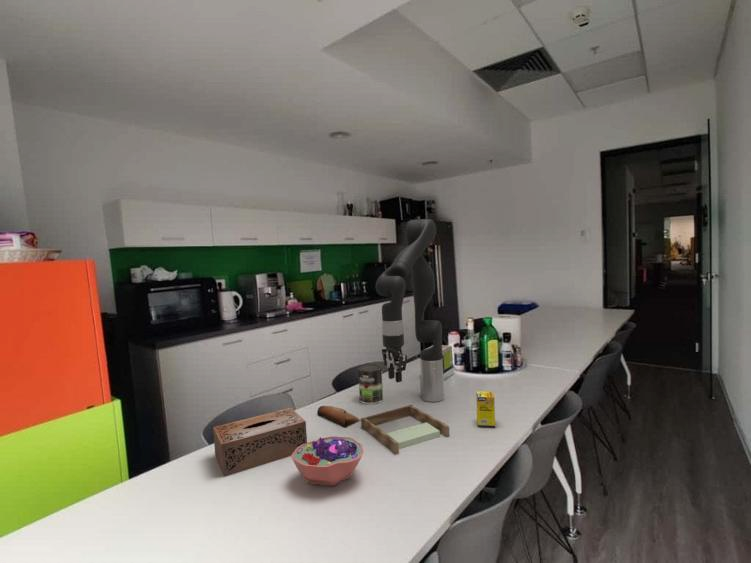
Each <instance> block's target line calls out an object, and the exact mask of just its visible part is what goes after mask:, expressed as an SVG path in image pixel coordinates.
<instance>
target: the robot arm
mask: <svg viewBox="0 0 751 563" xmlns="http://www.w3.org/2000/svg"><path fill="white" fill-rule="evenodd" d="M436 234H437V226H436V223H435V221H434V220H432V219H430V218H422V219H410V220H408V221H407V223H406V227H405V236H406V243H407V246H406V247H404V249H402V250H401V251H400V252H399V253H398V254H397V255H396V256H395V259H394V260H393V262H392V264H391V265H390V266H389V267H387V269H386V270H384V271H383V272H382V273H381V274H380V275H379V277H378V278H377V280H376V282H375V291H376V293H377V294H378V295H379V296H383V297H392V298H391V301H390V302H386V303H383V304H382V305H381V318H382V320H381V321H382V322H381V333H382V334H381V335H382V336H381V337H382V347H385V348H383V349H381V353H382V354H381V355H382V360H383V364H384V366H386V369H387V374H388V379H390V380H393V379H395V382H396V383H401V382H403V377H402V376H403V375H402V373H403V372H404V371H406V368H407V362H408V356H407V354H403V349H402V347H404V345H405V335H404V333H405V332H404V322H403V303H404V298H405V294H406V291H407V290H406V288H407V285H406V281H405V279H406V278H407V277H408V276H409V274H410V273H411V284H412V294H413V304H414V331H415V332H414V333H415V334H414V335H415V338H416V341H417V342H419V343H429V344H430V343H433V344H432V345H431V346H432V347H431V346H430V347H431V348H429V347H427V348H428V349H427V348H425V349H423V350H421V351H420V352H419V354H420V355H419V358H420V376H419V381H420V397H421V399H422V400H423V401H426V402H430V403H438V402H441V401H443V400H444V399H445V394H444V389H445V387H444V381H443V362H442V345H443V325H442V322H441V321H439V320H435V319H434V320H431V319H430V320H429V319H427V320H425V319H424V318H425V311H426V309H427V306H428V304H429V303H430V301H431V300H432V298H433V295H434V293H435V291H436V281H435V272H434V271H433V269H432V267H431V266H430V265H429V263H428V262H427V261H426V258H425V257H424V255H423V253H424V252H425V251H426V249H428V247H429V246H430V244H432V243H433V241H434V240H435V237H436Z"/></svg>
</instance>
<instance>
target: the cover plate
mask: <svg viewBox="0 0 751 563" xmlns="http://www.w3.org/2000/svg"><path fill="white" fill-rule="evenodd" d="M385 433H386V434H387V435H389V436H390V437H392V438H393V439H394V440H396V441H397V442H398V446H399V450H400V449H404V448H407V447H411V446H414V445H417V444H420V443H421V444H422V443H425V442H426V441H427V442H428V441H432V440H434V439H437V438H441V433H440V431H439V430H438V429H436V428H434V427H433V426H431V425H430V424H428V423H427V422H426V423H423V422H421V423H419V424H416V425H413V426H409V427H405V428H401V429H398V430H395V431H394V430H393V431H390V432H385Z"/></svg>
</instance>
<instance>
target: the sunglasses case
mask: <svg viewBox="0 0 751 563" xmlns="http://www.w3.org/2000/svg"><path fill="white" fill-rule="evenodd" d="M316 414H317V415H318V416H321V417H324V418H327V419H329V420H331V421H332V422H333V421H334V422H335V423H338V424H340V425H341V426H344V427H345V428H348V427H351V426H353V425H355V424H357V423H359V422H361V418H360V419H359V418H358V417H357V416H355V415H354V414H351V413H350V412H348V411H347V410H346V409H344V408H340V407H336V406H331V405H320V406H319V407H318V408H317V412H316Z"/></svg>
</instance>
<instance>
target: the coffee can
mask: <svg viewBox="0 0 751 563" xmlns="http://www.w3.org/2000/svg"><path fill="white" fill-rule="evenodd" d="M357 371H358V387H359V390H358V391H359V402H360V403H361V404H364V405H375V404H380V403H382V402H383V401H384V390H383V389H384V388H383V387H384V386H383V385H384V384H383V367H382V365H379V364H364V365H360V366H359V367H358V368H357Z"/></svg>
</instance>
